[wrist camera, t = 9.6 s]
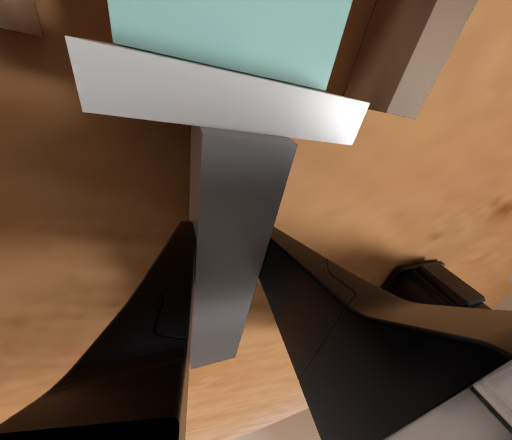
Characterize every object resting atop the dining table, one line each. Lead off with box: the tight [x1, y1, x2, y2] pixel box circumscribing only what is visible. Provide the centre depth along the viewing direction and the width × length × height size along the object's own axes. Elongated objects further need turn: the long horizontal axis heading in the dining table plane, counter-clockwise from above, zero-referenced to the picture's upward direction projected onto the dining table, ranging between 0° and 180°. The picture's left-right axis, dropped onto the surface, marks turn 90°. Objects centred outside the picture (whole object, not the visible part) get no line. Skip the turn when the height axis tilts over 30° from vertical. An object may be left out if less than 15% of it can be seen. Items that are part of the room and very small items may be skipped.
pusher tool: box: [65, 36, 370, 369], centre depth 9 cm, size 13×7×3 cm, turn 169°
